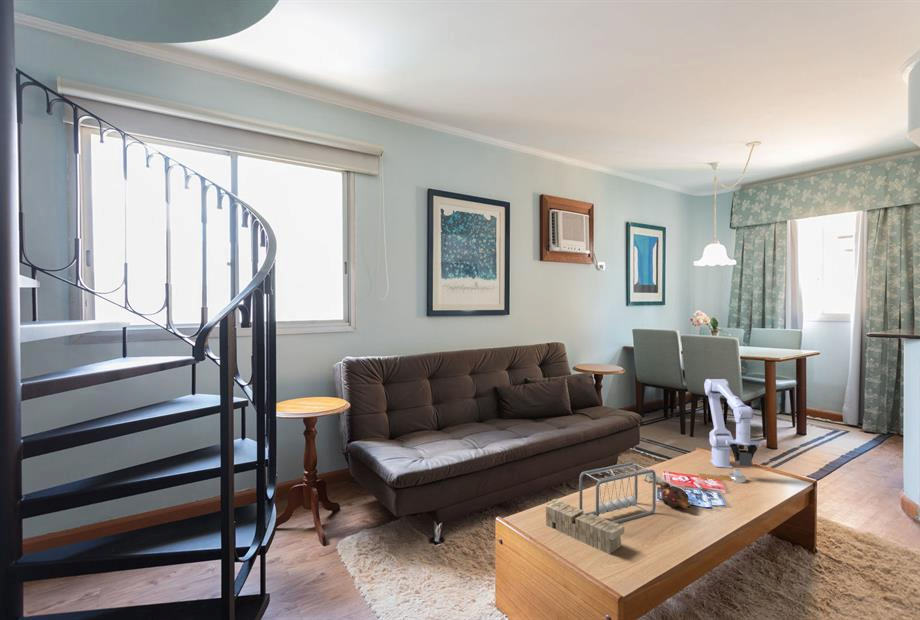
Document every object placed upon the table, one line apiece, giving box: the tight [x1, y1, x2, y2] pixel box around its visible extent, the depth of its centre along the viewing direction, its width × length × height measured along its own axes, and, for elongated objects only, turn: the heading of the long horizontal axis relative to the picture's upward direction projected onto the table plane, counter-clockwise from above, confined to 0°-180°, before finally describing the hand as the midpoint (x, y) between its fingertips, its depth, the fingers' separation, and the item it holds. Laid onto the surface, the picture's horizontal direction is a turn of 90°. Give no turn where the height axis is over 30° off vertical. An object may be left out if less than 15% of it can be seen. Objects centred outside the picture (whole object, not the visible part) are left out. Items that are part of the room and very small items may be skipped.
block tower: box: [545, 498, 625, 555], centre depth 160 cm, size 8×8×29 cm
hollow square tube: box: [734, 449, 753, 467], centre depth 210 cm, size 5×5×6 cm
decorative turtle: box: [659, 482, 692, 510], centre depth 183 cm, size 10×15×8 cm, turn 23°
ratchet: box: [697, 467, 747, 484], centre depth 210 cm, size 20×7×5 cm, turn 78°
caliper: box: [643, 472, 688, 492], centre depth 201 cm, size 20×1×6 cm, turn 41°
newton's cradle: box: [578, 461, 657, 524], centre depth 175 cm, size 30×10×18 cm, turn 114°
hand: (743, 460), depth 210 cm, fingers closed on hollow square tube, 5 cm apart
